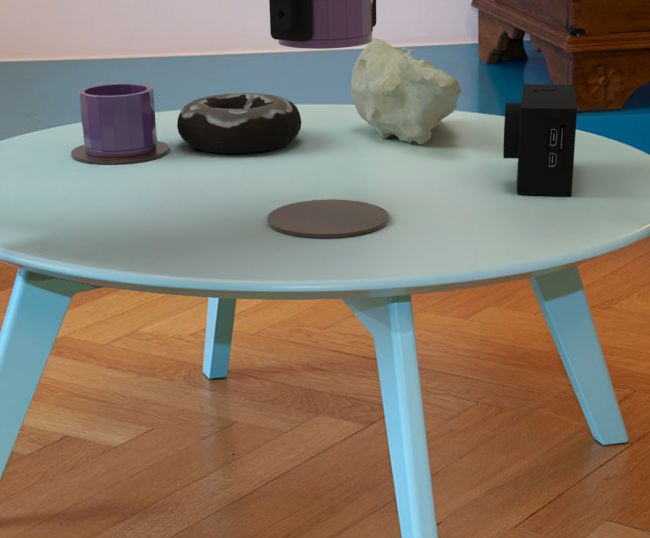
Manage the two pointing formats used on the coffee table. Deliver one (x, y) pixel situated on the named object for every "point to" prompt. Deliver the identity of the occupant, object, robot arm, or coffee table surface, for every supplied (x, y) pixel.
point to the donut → (239, 123)
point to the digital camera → (542, 138)
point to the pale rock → (401, 92)
